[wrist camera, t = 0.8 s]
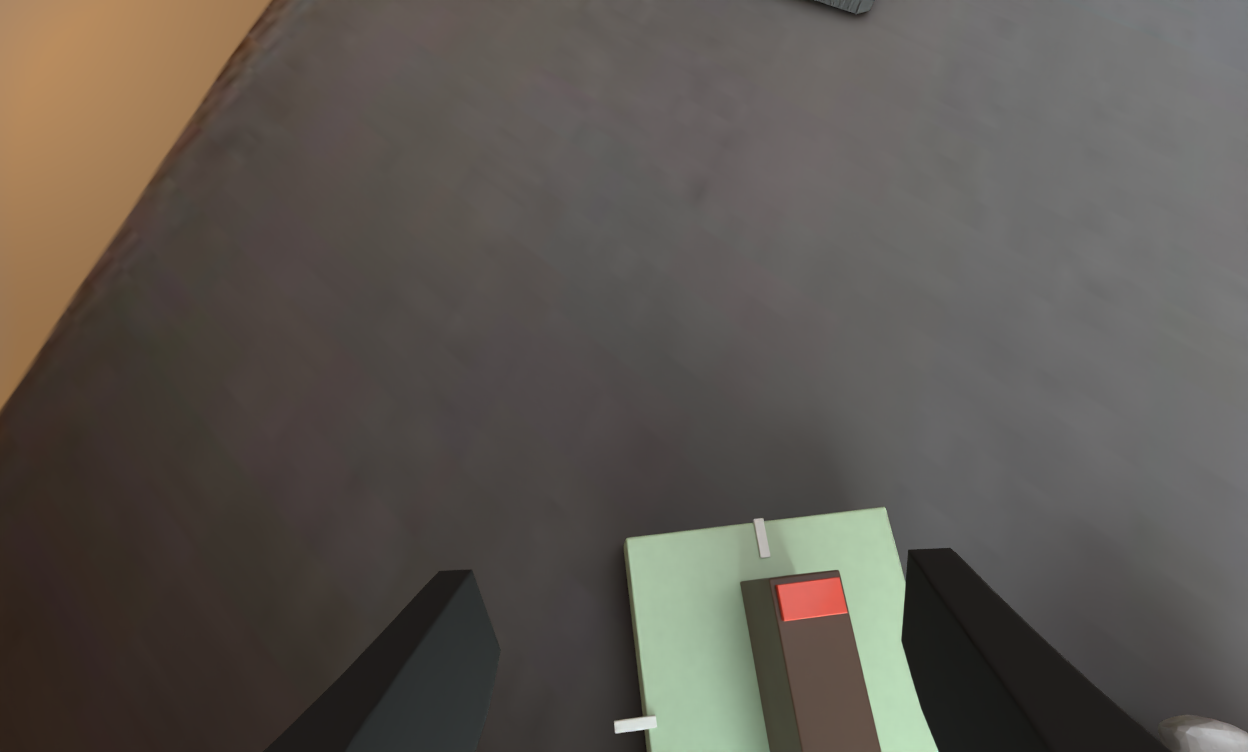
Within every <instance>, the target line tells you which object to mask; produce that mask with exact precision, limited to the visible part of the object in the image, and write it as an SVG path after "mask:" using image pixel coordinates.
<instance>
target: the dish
mask: <svg viewBox="0 0 1248 752" xmlns="http://www.w3.org/2000/svg"><path fill="white" fill-rule="evenodd" d="M1158 733H1159V737H1160V740H1161V743H1163V744H1164V745H1165V746H1166V747H1168V748H1169V749H1170V750H1171V751H1172V752H1248V733H1247V732H1245V731H1243V730H1241V729H1239V728H1237V727H1235V726H1234V725H1231V724H1228V723H1225V722H1221V721H1218V720H1215V719H1211V718H1206V717H1201V716H1196V715H1181V716H1176V717H1172V718H1168V719H1165V720H1162V721H1161V723H1160V724H1159V725H1158Z"/></svg>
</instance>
